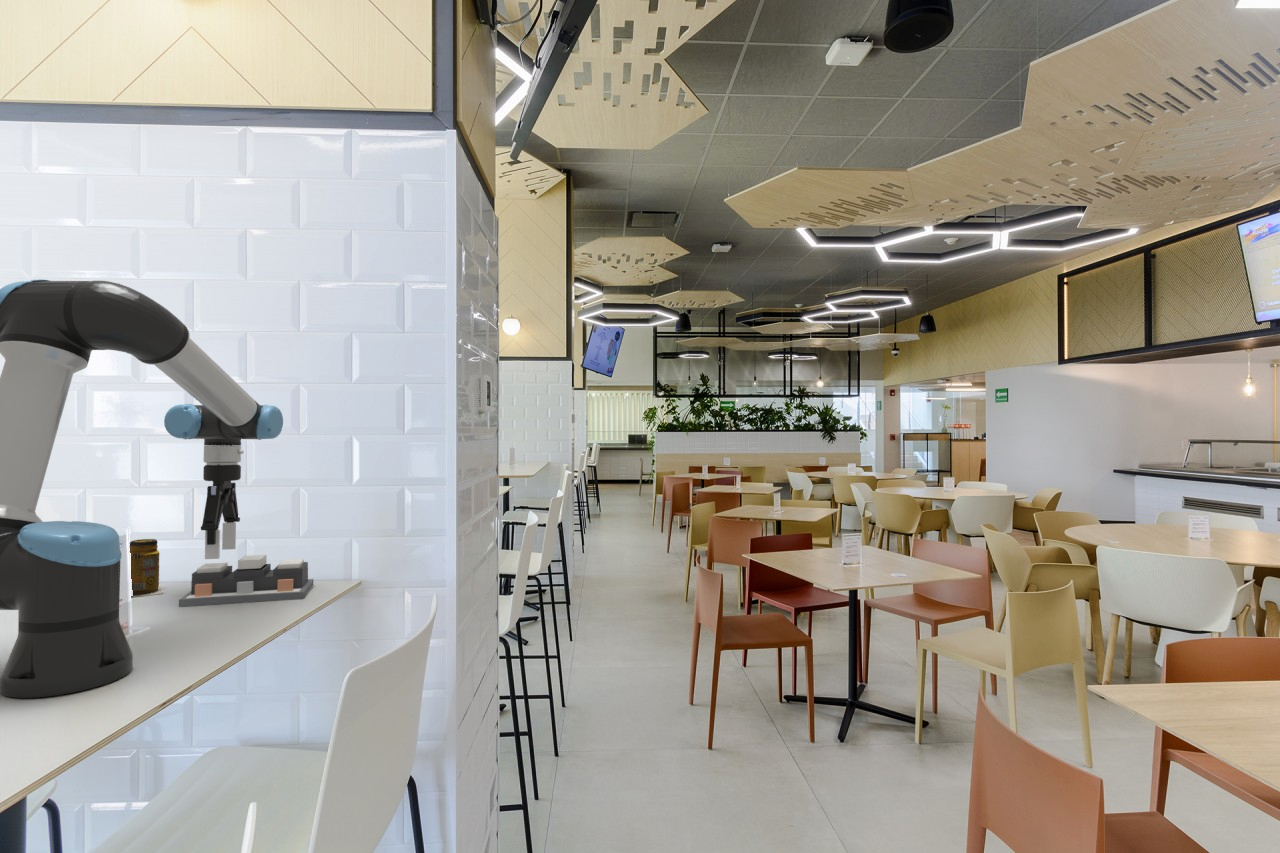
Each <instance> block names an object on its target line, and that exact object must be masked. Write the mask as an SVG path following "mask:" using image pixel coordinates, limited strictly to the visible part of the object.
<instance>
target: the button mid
mask: <svg viewBox="0 0 1280 853" xmlns="http://www.w3.org/2000/svg"><path fill="white" fill-rule="evenodd" d="M265 564H267V554H255V555H253V554H252V555H244V556H242V557H241V558H239V559H238V560H237V569H257V568H261V567H263V566H264V565H265Z"/></svg>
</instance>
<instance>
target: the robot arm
mask: <svg viewBox="0 0 1280 853" xmlns="http://www.w3.org/2000/svg"><path fill="white" fill-rule="evenodd" d="M92 351H117V352H120V353H121V352H123V353H126V354H129V355H131V356H133V357H134V358H135V359H137V360H138V361H140V362H141V363H143V364H146V365H152V366H153V365H154V366H155V367H156V368H157V369H159V370H160V371H161V372H163V373H164V374H165V375H166V376H167V377H168V378H169V379H170V380H172V381H173V382H175V383H176V384H177V385H178V386H179V387H180V388H182V389H183V390H184V391H186V393H187V394H189V395H190V396H191V397H193V399H195V400H196V401H198V403H200V404H193V403H185V404H176V405H174V406H171V407H170V408H169V409H168V410H167V411H166V413H165V415H164V422H163V423H164V425H163V426H164V427H165V430H166V431H167V433H168V434H169V435H170V436H171V437H174V438H176V439H182V440H203V441H204V442H203V462H204V464H205V465H204V466H203V481H206V482H212V485H208V486H207V489H206V490H207V492H206V495H207V496H206V501H205V507H204V511H203V512H204V514H203V519H202V524H201V526H200V531H205V532H204V534H205V535H204V537H205V538H204V539H205V540H204V560H216V559H217V560H218V559H219V560H220V555H221V554H220V552H221V549H222V551H223V550H225V551H226V550H236V547H237V546H236V543H237V542H236V540H237V539H236V538H237V523H240V522H241V517H238V515H239V509H238V502H237V500H238V499H237V492H236V489H237V488H236V486H237V485H236V482H235V481H239V480H240V479H241V478H242V477H241V476H242V466H241V464H239V463H240V462H242V456H241V455H243V454H244V452H245V451H244V450H243V449H242V440H258V441H261V440H269V439H271V440H272V439H276V438H277V437H279V436H280V434H281V432H282V429H283V427H284V418H283V417H284V416H283V413H282V411H281V409H280V408H278V406H276V405H268V404H263V405H261V404H260V403H258V402H257V401H256V400H255V399H254V398H253V397H252V396H251V395H250V394H249V393H248V392H247V391H246V390H245V389H243V387H241V385H239V383H237V382H236V381H235V380H234V379H233V378H232V377H231V376H230V375H229V374H228V373H227V372H226V371H225V370H224V369H223V368H222V367H221V366H220V365H219V364H218V363H216V361H215V360H214V359H212V358H211V357H210V356H209V355H208V353H206V352H205V351H204V350H203V349H202V348H201V347H200V346H199V345H198V344H197V343H196V342H194V340H192V339H191V336H190V330H189V328H188V327H187V326H186V324H184V323H183V321H181V320H180V319H179V318H178V317H177V316H176V315H175V314H173V313H172V312H171V311H170V310H168V309H167V308H166V307H164V306H163V305H162V304H160V303H159V302H157V301H155V299H152V298H151V297H149V296H148V295H146V294H144V293H142V292H140V291H138V290H136V289H134V288H131V287H128V286H126V285H123V284H120V283H118V282H117V283H116V282H113V281H109V280H49V279H30V280H25V281H24V280H23V281H15V282H12V283H9V284H6V285H4V286H3V287H1V288H0V354H1V356H2V357H3V358H4V364H3V367H2V369H1V374H0V611H18V613H17V614H18V618H17V620H18V623H17V624H18V629H17V630H18V631H17V638H16V640H15V642H14V645H13V647H12V648H11V649H12V650H11V652H10V654H9V657H8V659H7V661H6V664H5V667H4V669H3V671H2V674H1V677H0V693H1V694H2V695H3V696H5V697H9V698H17V699H18V698H19V699H29V698H30V699H32V698H33V699H34V698H46V697H53V696H61V695H67V694H71V693H77V692H80V691H81V692H82V691H85V690H89V689H93V688H94V689H95V688H97V687H100V686H103V685H107V684H109V683H112V682H114V681H117V680H119V679H121V678H123V677H126V676H127V675H128V674H130V673H131V672H132V671H133V669H134V666H133V665H134V664H133V662H134V661H133V660H134V657H133V656H134V655H133V651H132V649H131V646H130V645H129V642H128V640H127V637H126V634H125V632H124V630H123V627H122V625H121V623H120V622H121V621H120V596H121V595H120V594H121V593H120V592H121V591H120V588H121V587H120V586H121V560H122V551H121V546H120V535H119V534H118V532H117V531H116V529H115V528H113V527H112V526H109V525H106V524H102V523H98V522H91V521H79V520H77V521H76V520H73V521H67V520H66V521H65V520H55V521H54V520H53V521H43V520H42V519H41V518H40V517H39V515H37V512H36V509H37V505H38V502H39V498H40V494H41V490H42V487H43V484H44V480H45V477H46V473H47V469H48V466H49V461H50V458H51V454H52V450H53V448H54V444H55V442H56V441H55V440H56V437H57V433H58V430H59V426H60V423H61V419H62V416H63V411H64V408H65V406H66V405H65V404H66V402H67V399H68V398H67V397H68V394H69V391H70V387H71V383H72V380H73V377H74V374H76V373H78V372H80V371H82V370H84V369H86V368H87V367H88V364H89V361H90V359H91V358H90V357H91V354H92ZM221 518H223V522H222V536H221V529H219V528H220V523H221V520H222V519H221ZM221 537H222V539H221ZM220 542H221V543H222V544H220ZM220 545H222V546H221V547H222V548H220Z"/></svg>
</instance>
